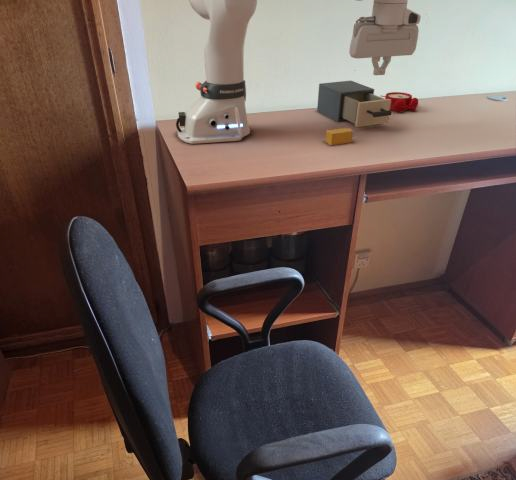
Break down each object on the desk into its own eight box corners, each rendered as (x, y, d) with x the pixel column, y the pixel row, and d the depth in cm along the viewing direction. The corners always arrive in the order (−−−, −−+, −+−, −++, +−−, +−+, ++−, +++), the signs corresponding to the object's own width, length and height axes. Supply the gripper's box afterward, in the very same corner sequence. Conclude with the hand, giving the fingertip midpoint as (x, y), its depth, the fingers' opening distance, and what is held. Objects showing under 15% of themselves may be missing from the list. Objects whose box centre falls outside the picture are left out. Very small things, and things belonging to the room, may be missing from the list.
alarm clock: (400, 91, 165) (427, 89, 153) (399, 110, 168) (425, 110, 156) (376, 93, 162) (401, 92, 150) (375, 113, 165) (400, 113, 153)
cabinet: (370, 117, 152) (374, 89, 147) (337, 121, 149) (340, 92, 143) (347, 107, 162) (350, 80, 157) (317, 111, 159) (319, 83, 153)
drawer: (396, 127, 141) (400, 103, 136) (365, 131, 137) (369, 107, 133) (364, 112, 154) (367, 90, 149) (335, 116, 150) (337, 93, 146)
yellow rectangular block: (330, 145, 130) (332, 133, 128) (325, 142, 133) (326, 130, 131) (351, 142, 132) (353, 130, 130) (345, 139, 135) (347, 127, 133)
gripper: (361, 18, 116) (353, 79, 125) (425, 16, 122) (413, 74, 131) (348, 16, 120) (342, 75, 129) (411, 14, 126) (400, 70, 136)
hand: (378, 74), depth 130 cm, fingers closed
